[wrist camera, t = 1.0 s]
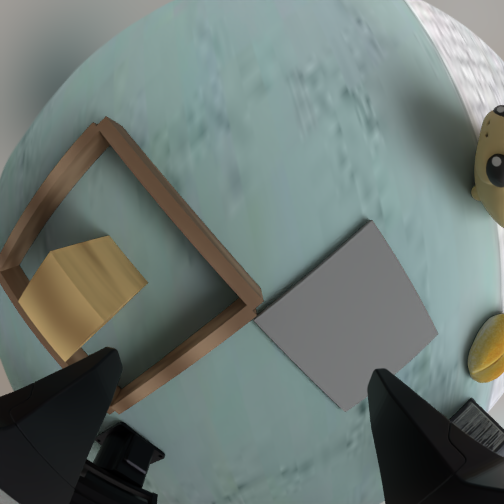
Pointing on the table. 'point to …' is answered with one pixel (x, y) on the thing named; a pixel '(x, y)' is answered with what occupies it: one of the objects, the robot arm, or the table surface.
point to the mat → (350, 318)
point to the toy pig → (491, 165)
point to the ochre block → (79, 292)
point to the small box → (480, 426)
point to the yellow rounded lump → (488, 351)
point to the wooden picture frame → (111, 133)
